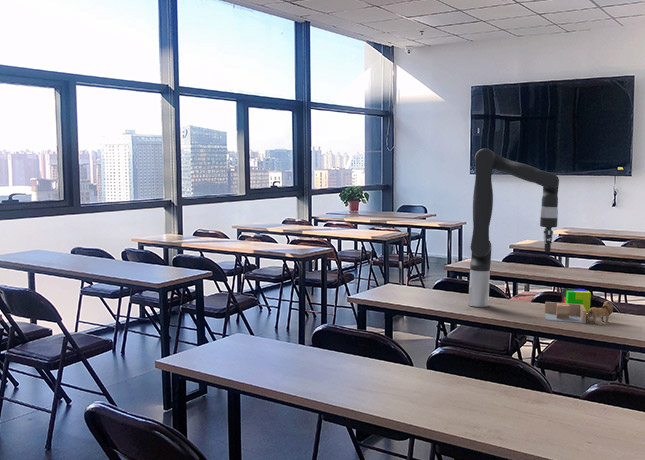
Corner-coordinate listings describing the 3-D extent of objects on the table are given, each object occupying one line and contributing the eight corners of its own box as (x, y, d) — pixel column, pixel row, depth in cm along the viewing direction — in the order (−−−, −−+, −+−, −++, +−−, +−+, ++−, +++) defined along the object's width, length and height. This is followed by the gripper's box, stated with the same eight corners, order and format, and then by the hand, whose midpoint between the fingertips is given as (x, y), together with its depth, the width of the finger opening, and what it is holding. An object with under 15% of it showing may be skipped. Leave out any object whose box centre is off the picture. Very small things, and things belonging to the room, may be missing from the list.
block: (568, 319, 274) (569, 306, 274) (556, 318, 276) (557, 305, 275) (568, 317, 279) (568, 303, 278) (556, 316, 280) (556, 302, 280)
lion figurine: (605, 319, 277) (606, 299, 277) (615, 322, 273) (616, 302, 272) (581, 322, 271) (582, 301, 270) (591, 325, 266) (592, 304, 266)
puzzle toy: (582, 309, 299) (583, 289, 298) (589, 314, 289) (590, 292, 288) (561, 308, 300) (562, 288, 299) (567, 313, 290) (568, 291, 289)
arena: (546, 320, 274) (546, 308, 273) (544, 313, 288) (545, 301, 287) (585, 323, 269) (586, 311, 269) (582, 316, 283) (582, 304, 283)
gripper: (558, 217, 281) (556, 253, 282) (556, 216, 295) (554, 250, 296) (541, 217, 283) (539, 252, 285) (539, 215, 297) (538, 249, 298)
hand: (547, 251), depth 290 cm, fingers open, 8 cm apart
